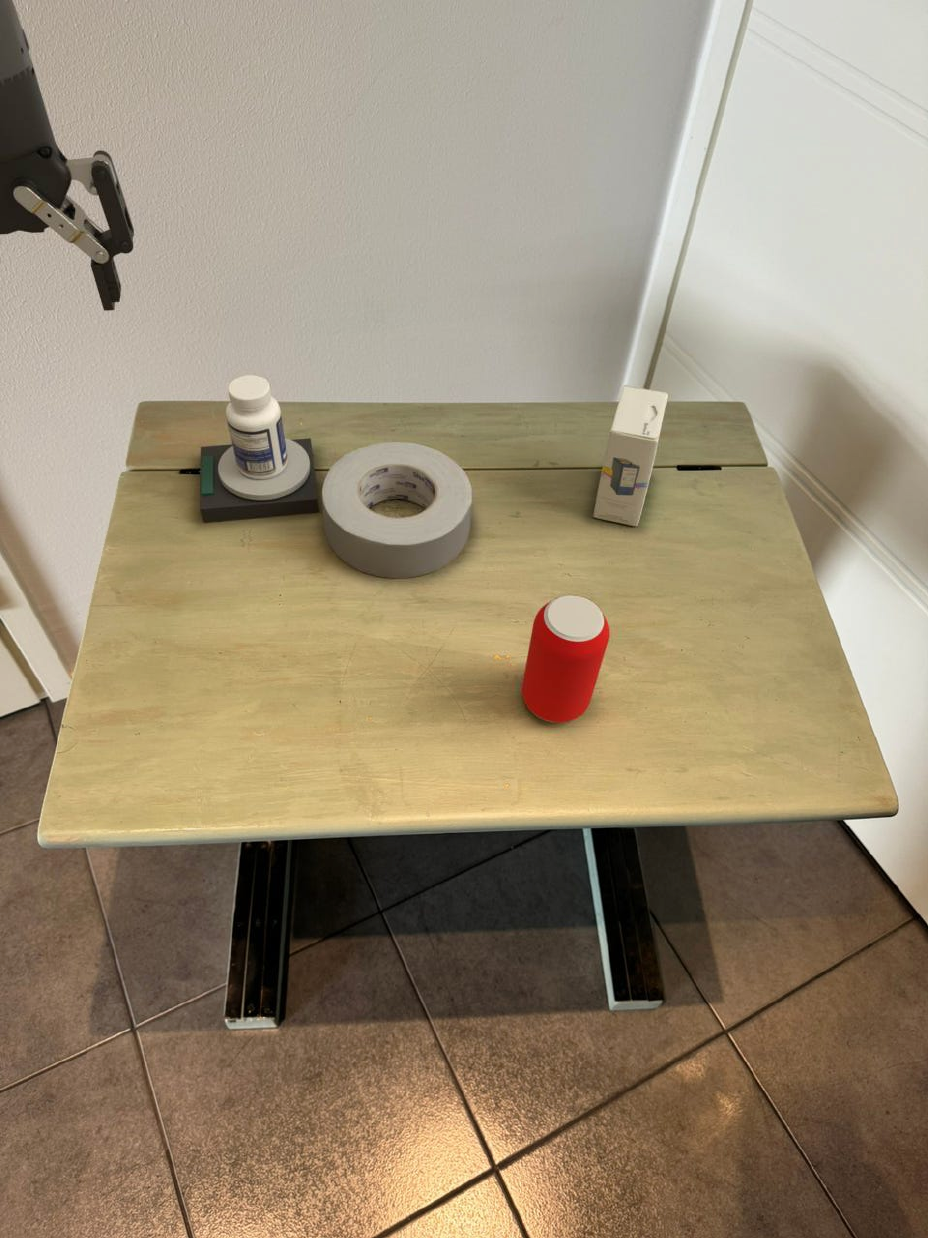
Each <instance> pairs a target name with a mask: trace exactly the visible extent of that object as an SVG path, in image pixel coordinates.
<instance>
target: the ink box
mask: <svg viewBox="0 0 928 1238" xmlns="http://www.w3.org/2000/svg"><path fill="white" fill-rule="evenodd" d="M668 399H669V394H668V393H667V392H664V391H658V390H654V389H648V388H643V387H637V386H632V385H626V384H623V386H622V389H621V393H620V396H619V399H618V402H617V406H616V409H615V412H614V416H613V419H612V423H611V426H610V430H609V435H608V439H607V443H606V449H605V453H604V458H603V463H602V469H601V473H600V478H599V483H598V489H597V494H596V499H595V503H594V504H595V505H594V508H593V509H594V510H593V518H595V519H599V520H603V521H607V522H613V523H618V524H622V525H627V526H632V527H638V525H639V523H640V518H641V515H642V513H643V512H642V511H643V507H644V504H645V501H646V497H647V496H646V495H647V494H648V493H647V492H648V488H649V483H650V479H651V475H652V472H653V469H654V464H655V460H656V456H657V450H658V446H659V441H660V437H661V436H660V435H661V432H662V426H663V423H664V422H663V421H664V416H665V412H666V407H667V403H668Z"/></svg>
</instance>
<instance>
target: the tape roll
mask: <svg viewBox="0 0 928 1238" xmlns="http://www.w3.org/2000/svg"><path fill="white" fill-rule="evenodd" d="M389 500H404V501H409V502H413V503H415V504H417V505H419V506H421V507H422V508H423V509H424V510H422V511H421V512H419V513H416V514H414V515H410V516H402V517H401V516H400V517H397V516H396V517H395V516H394V517H393V516H386V515H383V514H381V513H377V512H376V511H373V510H372V509H370V508H371V507H373V506H374V505H376V504H379V503H381V502H383V501H389ZM321 503H322V516H323V529H324V534H325V538H326V541H327V542H328V545H329V547H330V548H331V550H332V551H333V552H334V553H335V555H336V556H337V557H338V558H339V559H341V561H343V562H344V563H346V564H347V565H349V566H350V567H352V568H354V569H355V570H358V571H360V572H362V573H365V574H367V575H372V576H376V577H379V578H385V579H386V578H387V579H388V578H389V579H409V578H416V577H421V576H425V575H429V574H431V573H435V572H436V571H438V570H441V569H442V568H444V567H446V566H448V565H449V564H450V563H451V562H453V561H454V560H455V559H456V558H457V557H458V556H459V555H460V554H461V552H462V551H463V549H464V548H465V546H466V543H467V541H468V538H469V535H470V527H471V517H472V505H473V487H472V485H471V482H470V479H469V477H468V475H467V473H466V472H465V470H464V469H463V468H462V467H461V466H460V465H459V464H458V463H457V462H456V461H455V460H453V459H452V458H451V457H450V456H448V455H446V454H444V452H441V451H440V450H437V449H435V448H433V447H429V446H426V445H423V444H419V443H413V442H405V441H404V442H403V441H386V442H384V441H383V442H378V443H372V444H369V445H366V446H363V447H359V448H356V449H354V450H351V451H350V452H347V453H346V454H344V455H343V456H342V457H340V458H339V459H338V460H337V461H335V463H334V464H333V465H332V466H331V467H330V468H329V470H328V472H327V474H326V476H325V477H324V481H323V483H322V488H321Z"/></svg>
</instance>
